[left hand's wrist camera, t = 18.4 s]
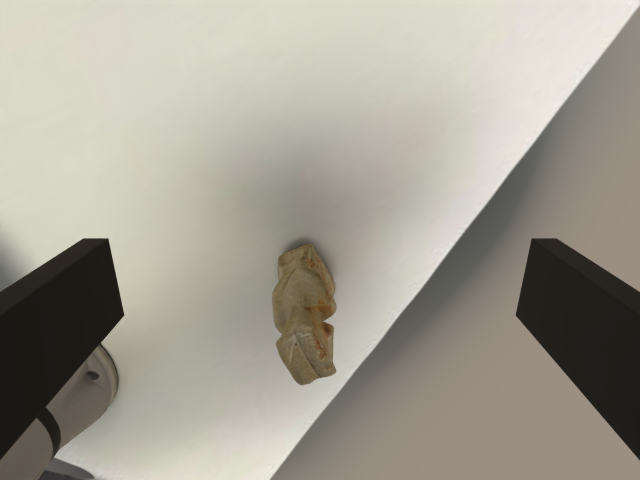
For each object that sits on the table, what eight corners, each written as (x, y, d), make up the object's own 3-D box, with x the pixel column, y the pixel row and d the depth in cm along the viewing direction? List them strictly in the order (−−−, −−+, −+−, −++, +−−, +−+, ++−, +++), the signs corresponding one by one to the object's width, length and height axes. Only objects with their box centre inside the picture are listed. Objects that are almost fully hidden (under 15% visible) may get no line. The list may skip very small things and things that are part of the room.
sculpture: (294, 302, 45) (282, 400, 31) (270, 248, 43) (246, 326, 29) (342, 287, 44) (353, 380, 30) (321, 230, 42) (321, 303, 28)
